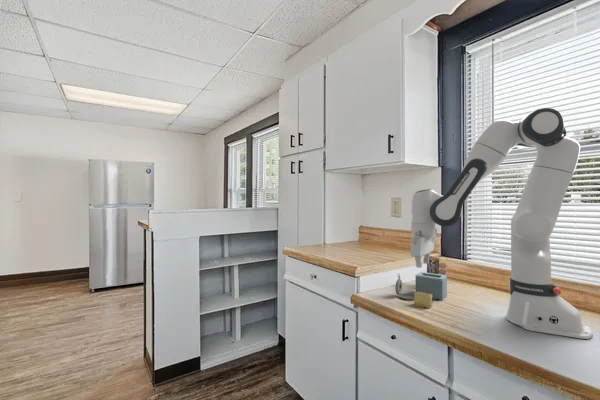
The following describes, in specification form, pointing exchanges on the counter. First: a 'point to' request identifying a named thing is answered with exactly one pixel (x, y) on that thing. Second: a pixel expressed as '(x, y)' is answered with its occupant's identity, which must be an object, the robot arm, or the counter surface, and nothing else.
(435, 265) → the candy box
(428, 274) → the blue grey rectangular container
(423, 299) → the tan wooden block
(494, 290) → the counter surface
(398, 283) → the pocket watch
